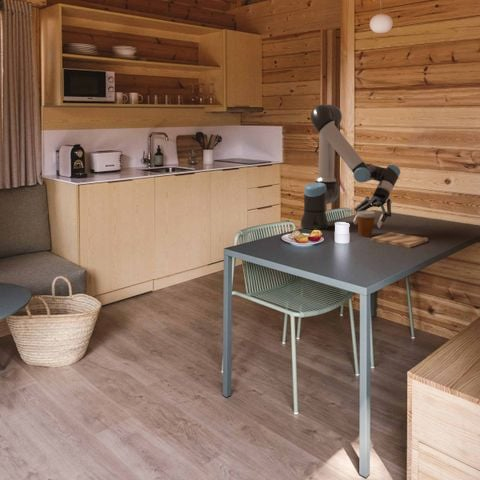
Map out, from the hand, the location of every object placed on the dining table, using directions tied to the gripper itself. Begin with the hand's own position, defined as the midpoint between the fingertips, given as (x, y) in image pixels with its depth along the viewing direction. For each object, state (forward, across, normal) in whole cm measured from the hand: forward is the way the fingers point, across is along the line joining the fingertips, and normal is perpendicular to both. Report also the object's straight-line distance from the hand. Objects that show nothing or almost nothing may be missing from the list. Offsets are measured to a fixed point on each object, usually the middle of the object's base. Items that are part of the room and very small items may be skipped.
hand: (366, 224), depth 278 cm
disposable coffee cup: (+4, +1, -5) cm, 6 cm away
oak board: (+4, -18, -4) cm, 19 cm away
